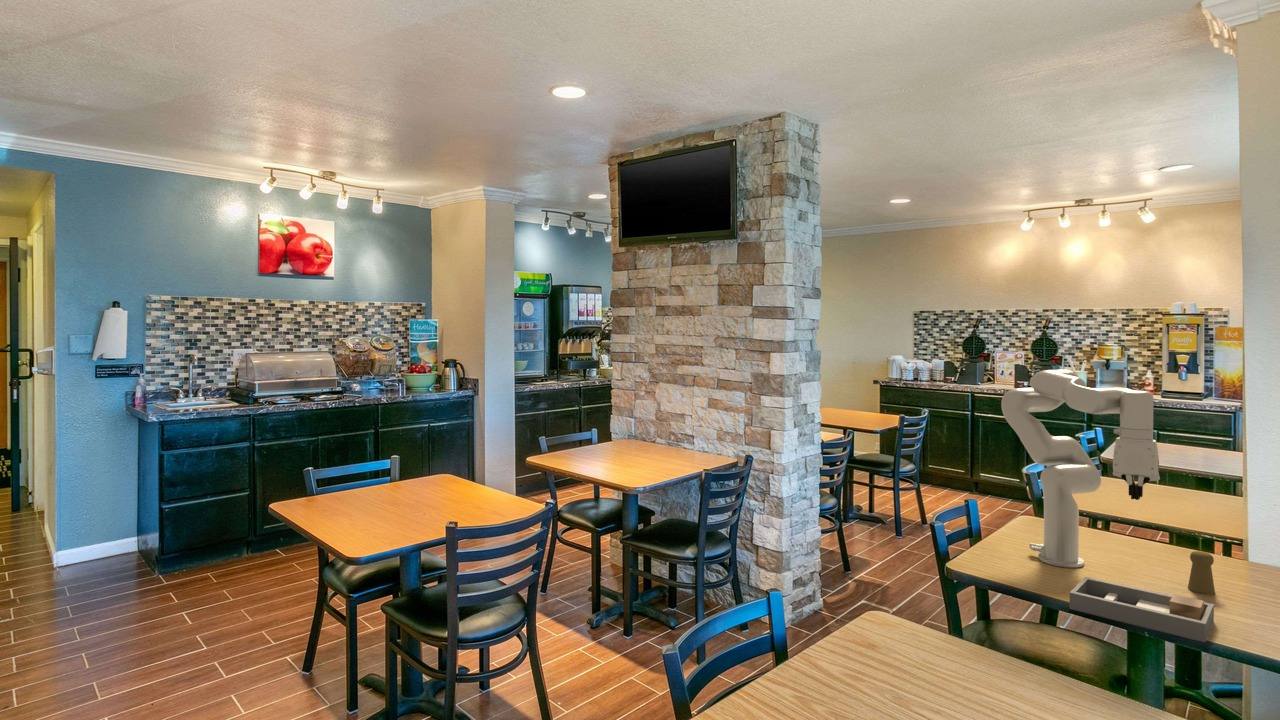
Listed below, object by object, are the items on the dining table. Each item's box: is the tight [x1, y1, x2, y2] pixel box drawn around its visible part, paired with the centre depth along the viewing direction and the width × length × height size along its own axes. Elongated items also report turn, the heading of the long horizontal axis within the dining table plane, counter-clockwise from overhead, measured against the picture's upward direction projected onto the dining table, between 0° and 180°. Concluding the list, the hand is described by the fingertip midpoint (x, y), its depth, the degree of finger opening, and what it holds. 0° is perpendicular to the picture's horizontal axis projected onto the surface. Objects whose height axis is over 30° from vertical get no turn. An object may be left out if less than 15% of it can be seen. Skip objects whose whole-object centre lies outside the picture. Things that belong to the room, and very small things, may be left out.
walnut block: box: [1169, 594, 1205, 621], centre depth 167 cm, size 6×6×4 cm
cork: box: [1187, 550, 1216, 596], centre depth 189 cm, size 6×6×11 cm
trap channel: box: [1069, 576, 1215, 643], centre depth 174 cm, size 28×16×4 cm, turn 44°
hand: (1135, 498), depth 188 cm, fingers closed
